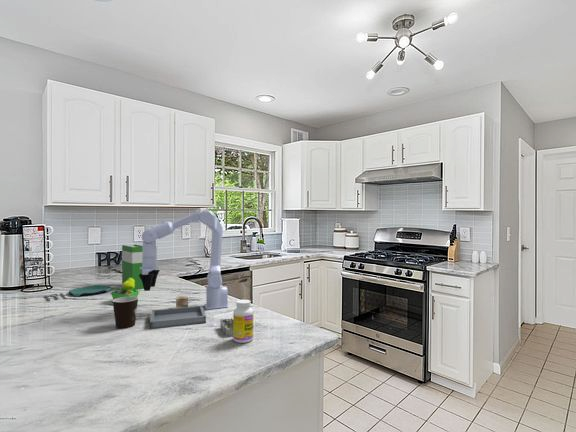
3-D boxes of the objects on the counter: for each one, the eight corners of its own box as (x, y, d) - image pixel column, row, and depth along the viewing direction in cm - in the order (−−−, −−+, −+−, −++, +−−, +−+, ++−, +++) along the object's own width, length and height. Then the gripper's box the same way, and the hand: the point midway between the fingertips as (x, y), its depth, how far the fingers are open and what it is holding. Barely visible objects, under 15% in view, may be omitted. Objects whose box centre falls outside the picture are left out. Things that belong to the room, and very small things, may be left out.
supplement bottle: (244, 345, 104) (244, 305, 104) (229, 341, 108) (228, 302, 108) (257, 338, 110) (257, 300, 110) (242, 334, 114) (242, 297, 114)
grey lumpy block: (246, 334, 114) (246, 323, 114) (225, 338, 111) (225, 326, 111) (238, 325, 124) (238, 314, 124) (218, 328, 121) (218, 317, 121)
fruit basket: (109, 303, 156) (109, 279, 156) (125, 298, 164) (125, 276, 164) (127, 305, 151) (127, 281, 151) (142, 300, 160) (142, 277, 160)
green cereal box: (122, 285, 194) (122, 245, 194) (135, 283, 199) (135, 244, 199) (132, 290, 182) (132, 247, 182) (146, 288, 187) (145, 246, 187)
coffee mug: (127, 330, 118) (127, 302, 118) (107, 329, 120) (107, 301, 120) (147, 320, 129) (147, 295, 129) (128, 319, 131) (128, 294, 131)
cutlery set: (115, 292, 177) (115, 288, 177) (47, 303, 157) (47, 299, 157) (106, 287, 192) (105, 283, 192) (42, 296, 171) (42, 292, 171)
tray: (202, 311, 141) (202, 305, 141) (205, 322, 126) (205, 316, 126) (152, 316, 135) (152, 310, 135) (149, 328, 120) (149, 322, 120)
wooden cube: (187, 306, 149) (187, 295, 149) (188, 309, 145) (188, 298, 145) (176, 307, 148) (176, 296, 148) (176, 310, 143) (176, 299, 143)
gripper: (144, 255, 148) (144, 285, 148) (134, 259, 134) (134, 292, 134) (161, 255, 149) (161, 284, 149) (152, 259, 135) (152, 292, 135)
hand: (149, 288), depth 141 cm, fingers open, 7 cm apart
